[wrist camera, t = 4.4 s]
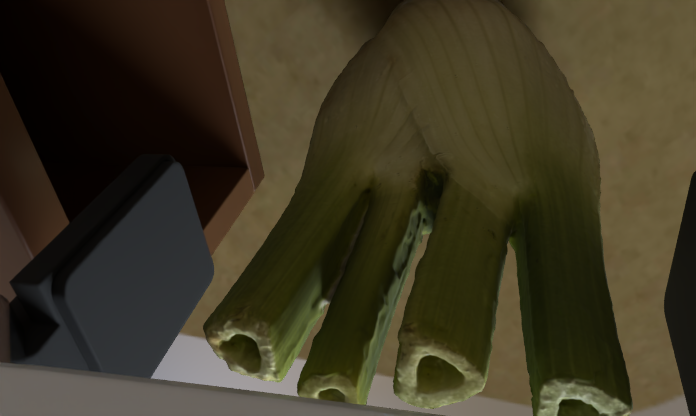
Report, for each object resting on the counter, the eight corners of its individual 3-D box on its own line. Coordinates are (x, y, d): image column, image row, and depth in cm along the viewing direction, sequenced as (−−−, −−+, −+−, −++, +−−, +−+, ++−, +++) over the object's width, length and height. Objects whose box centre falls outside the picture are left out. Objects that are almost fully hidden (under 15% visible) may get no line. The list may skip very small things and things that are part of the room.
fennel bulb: (604, 45, 16) (700, 424, 7) (498, 174, 19) (462, 560, 10) (418, -67, 16) (242, 170, 6) (339, 82, 19) (140, 395, 9)
